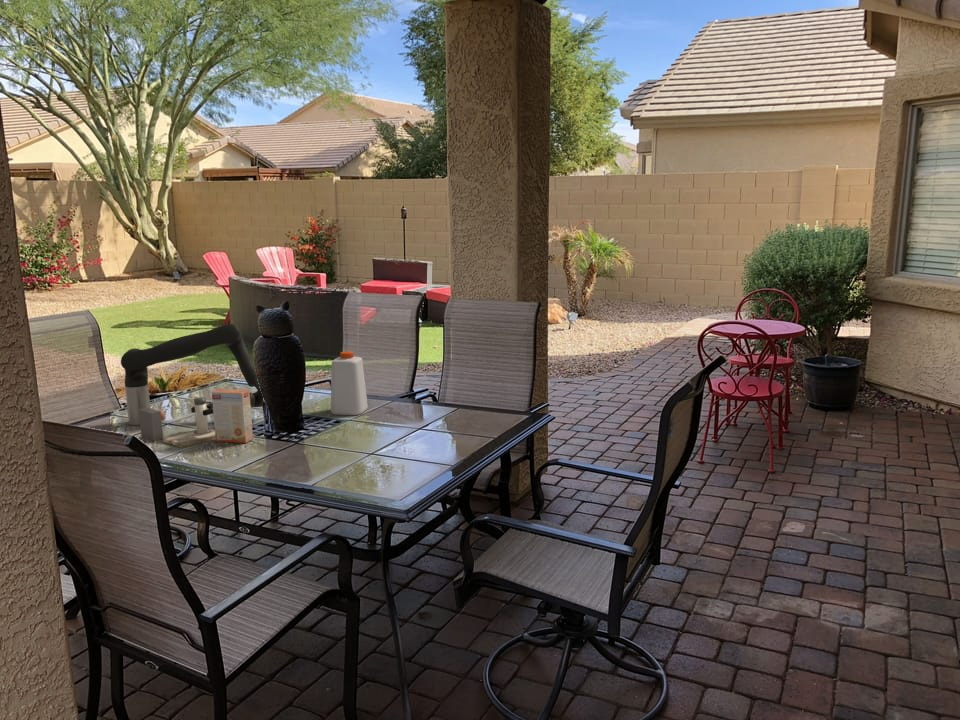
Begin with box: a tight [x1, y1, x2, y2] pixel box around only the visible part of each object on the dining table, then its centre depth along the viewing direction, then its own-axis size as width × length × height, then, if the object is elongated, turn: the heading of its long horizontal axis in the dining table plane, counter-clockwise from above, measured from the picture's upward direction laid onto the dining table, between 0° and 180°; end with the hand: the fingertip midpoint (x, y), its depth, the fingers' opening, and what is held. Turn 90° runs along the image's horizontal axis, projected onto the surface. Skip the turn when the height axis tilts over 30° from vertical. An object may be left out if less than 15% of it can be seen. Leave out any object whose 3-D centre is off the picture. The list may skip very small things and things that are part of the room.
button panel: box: [139, 407, 164, 442], centre depth 309 cm, size 10×4×12 cm, turn 52°
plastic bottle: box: [330, 350, 369, 416], centre depth 346 cm, size 15×15×28 cm
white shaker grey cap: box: [193, 396, 209, 433], centre depth 312 cm, size 5×5×14 cm
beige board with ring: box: [162, 427, 216, 448], centre depth 308 cm, size 14×20×2 cm
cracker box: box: [211, 388, 254, 444], centre depth 303 cm, size 14×6×21 cm, turn 74°
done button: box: [157, 409, 166, 421], centre depth 311 cm, size 4×2×4 cm, turn 52°
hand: (197, 411), depth 311 cm, fingers open, 8 cm apart
